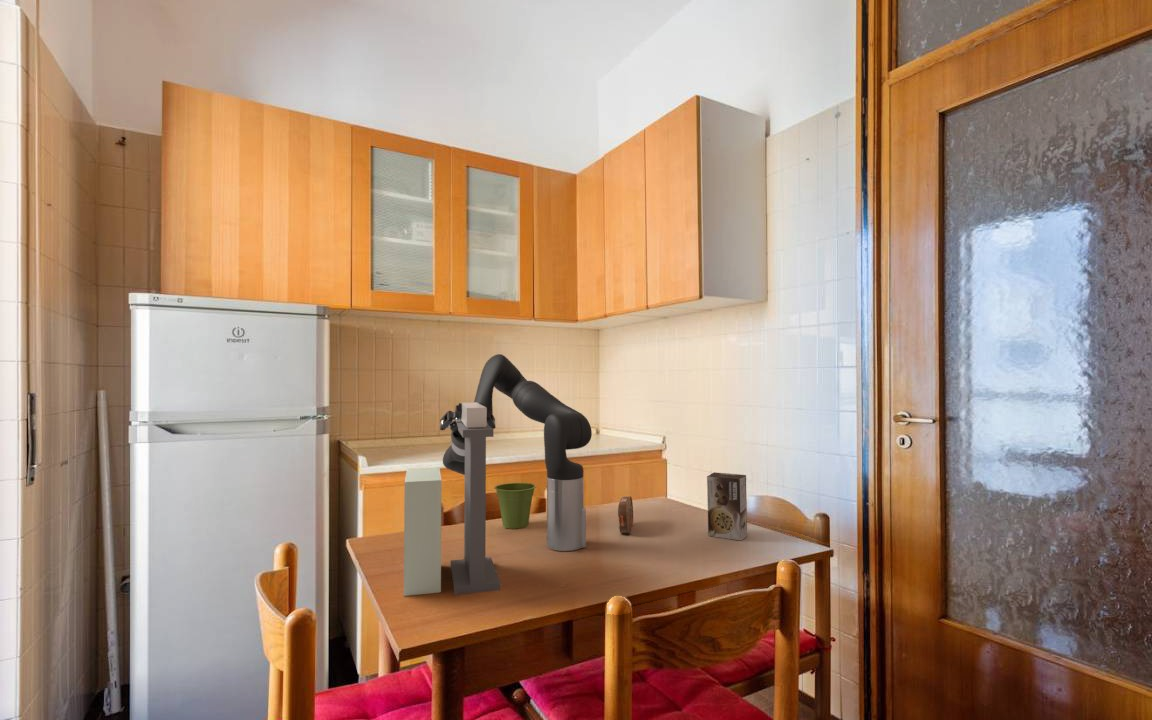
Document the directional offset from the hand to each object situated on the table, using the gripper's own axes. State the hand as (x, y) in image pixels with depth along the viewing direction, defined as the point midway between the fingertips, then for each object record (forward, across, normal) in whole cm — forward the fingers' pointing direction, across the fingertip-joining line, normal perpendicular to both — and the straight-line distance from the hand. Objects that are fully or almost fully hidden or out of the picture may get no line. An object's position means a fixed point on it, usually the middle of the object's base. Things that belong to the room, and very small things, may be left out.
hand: (470, 406), depth 127 cm
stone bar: (+2, 0, +5) cm, 5 cm away
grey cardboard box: (-20, +68, +30) cm, 77 cm away
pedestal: (-11, -10, +35) cm, 38 cm away
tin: (-32, +44, +23) cm, 59 cm away
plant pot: (-42, +15, +17) cm, 48 cm away
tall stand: (-9, 0, +36) cm, 37 cm away
